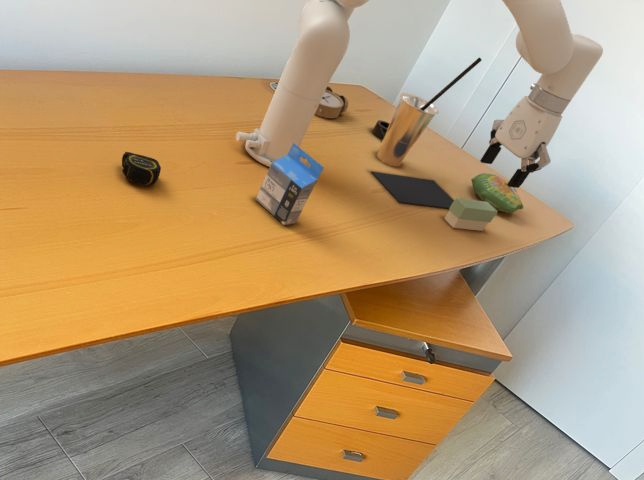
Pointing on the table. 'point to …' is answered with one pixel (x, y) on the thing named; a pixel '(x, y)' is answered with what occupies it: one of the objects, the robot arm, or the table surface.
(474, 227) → the green and beige block
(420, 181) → the desk mat
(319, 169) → the ink cartridge box
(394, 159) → the metal cup with straw
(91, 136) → the table surface
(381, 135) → the duct tape
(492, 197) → the educational model
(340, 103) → the alarm clock
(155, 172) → the tape measure
